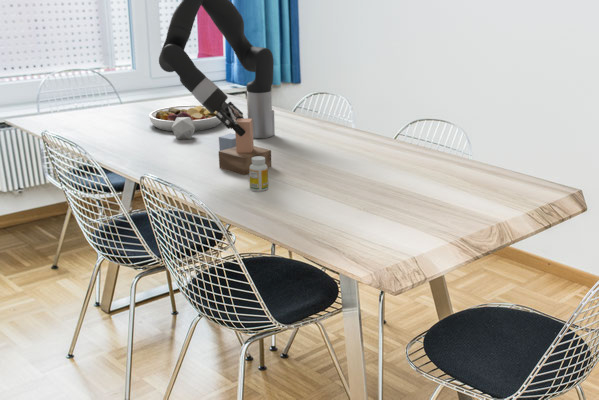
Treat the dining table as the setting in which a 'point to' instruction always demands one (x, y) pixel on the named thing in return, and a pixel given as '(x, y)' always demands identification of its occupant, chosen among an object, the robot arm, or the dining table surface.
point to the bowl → (196, 112)
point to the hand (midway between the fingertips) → (246, 131)
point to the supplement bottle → (258, 174)
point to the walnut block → (242, 159)
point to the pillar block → (245, 136)
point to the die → (183, 128)
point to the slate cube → (227, 141)
